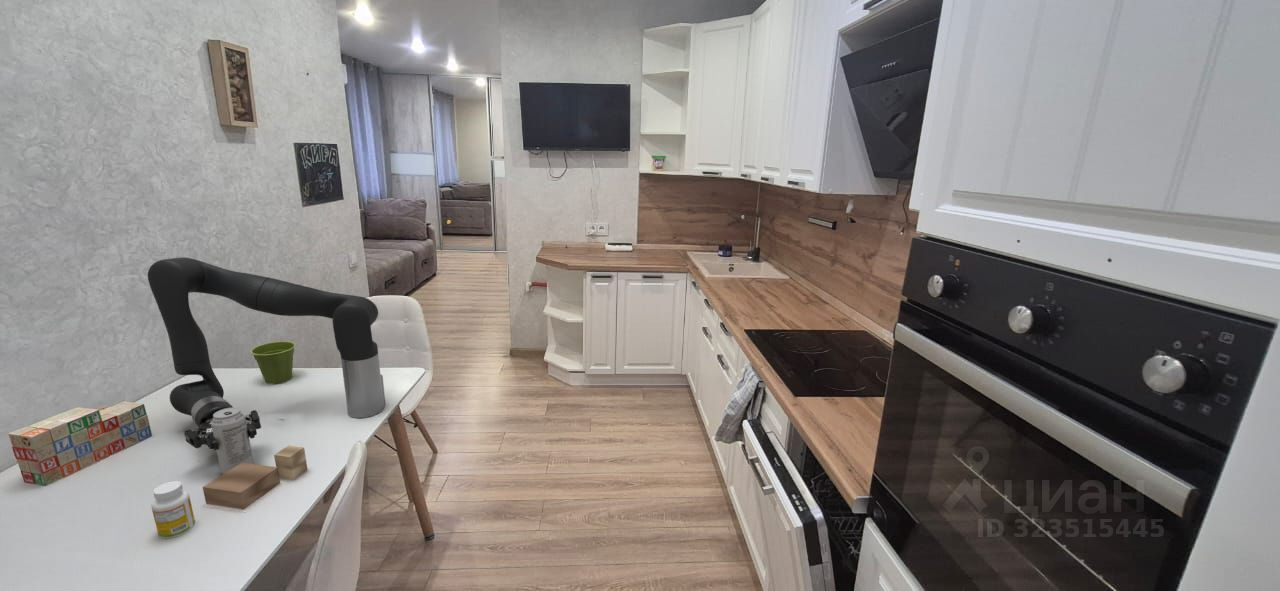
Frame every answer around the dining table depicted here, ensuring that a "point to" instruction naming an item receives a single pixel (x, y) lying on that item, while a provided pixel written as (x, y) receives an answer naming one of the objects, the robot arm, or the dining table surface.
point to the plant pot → (275, 360)
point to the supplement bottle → (172, 510)
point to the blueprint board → (249, 505)
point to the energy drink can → (231, 438)
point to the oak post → (291, 462)
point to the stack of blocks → (77, 440)
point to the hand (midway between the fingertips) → (234, 440)
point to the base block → (241, 485)
